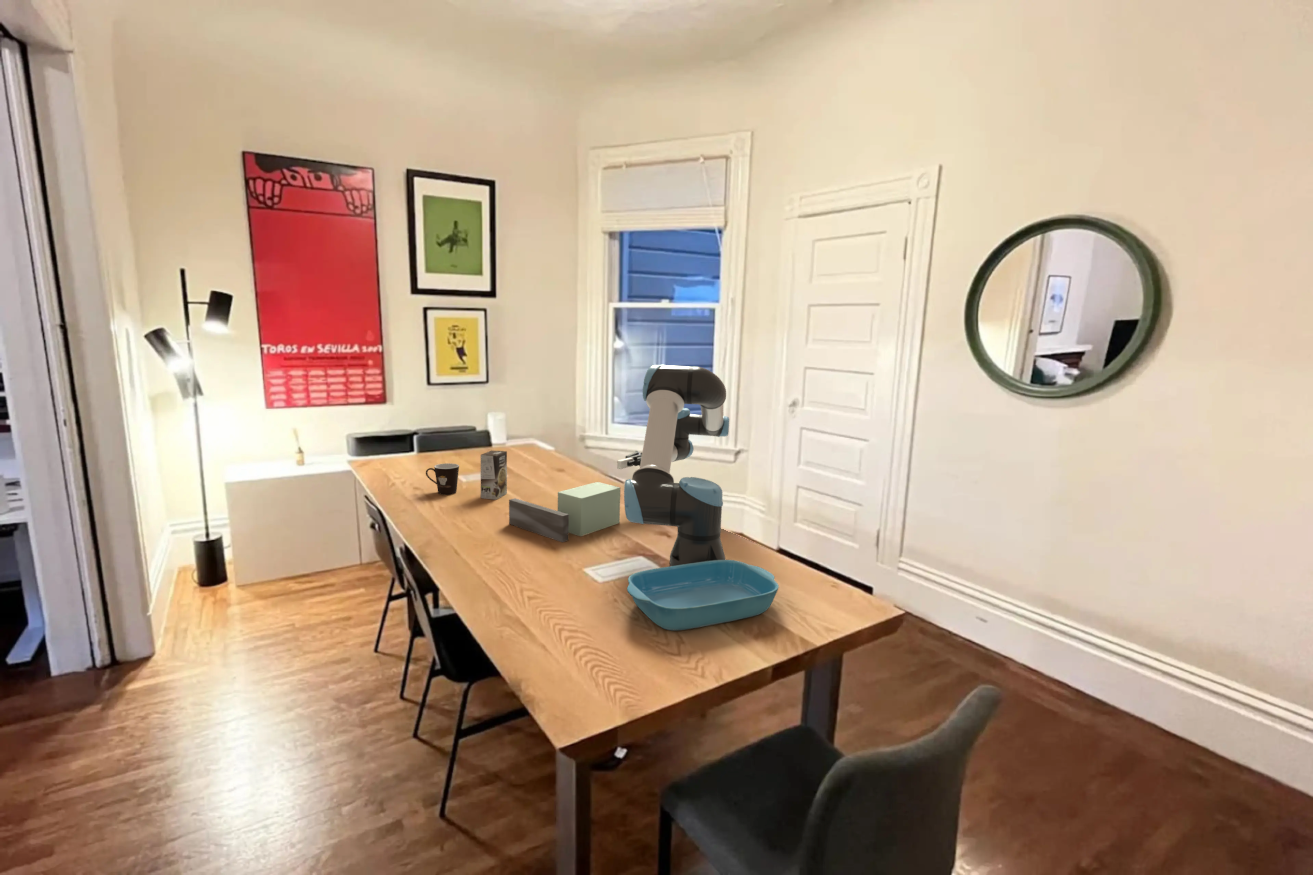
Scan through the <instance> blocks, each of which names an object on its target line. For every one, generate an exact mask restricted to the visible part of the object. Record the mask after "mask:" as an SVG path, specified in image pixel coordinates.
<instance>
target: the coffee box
mask: <svg viewBox="0 0 1313 875" xmlns="http://www.w3.org/2000/svg"><path fill="white" fill-rule="evenodd" d="M507 494H508V451H507V450H505V451H504V450H492V449H491V450H489V451H487V452H483V453H481V454H480V499H487V500H493V501H494V500H498V499H500V498H502V497H504V496H505V495H507Z"/></svg>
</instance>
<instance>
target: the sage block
mask: <svg viewBox="0 0 1313 875" xmlns="http://www.w3.org/2000/svg"><path fill="white" fill-rule="evenodd" d="M621 489H622V488H621V487H619V486H616V485H613V484H612V485H611V484H607V483H604V482H600V481H596V482H591V483H587V484H584V485H580V486H576V487H573V488H568V489H566V490H565V489H564V490H561V491H558V492H557V511H559V512H562V513H566V514H569V533H568V534H572V535H575V536H577V537H583V536H586V535H589V534H592V533H594V532H597V531H601V530H603V529H607V528H609V527H612V526H614V525H618V524H620V523H621V522H620V520H621V518H620V516H621V513H620V512H621Z"/></svg>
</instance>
